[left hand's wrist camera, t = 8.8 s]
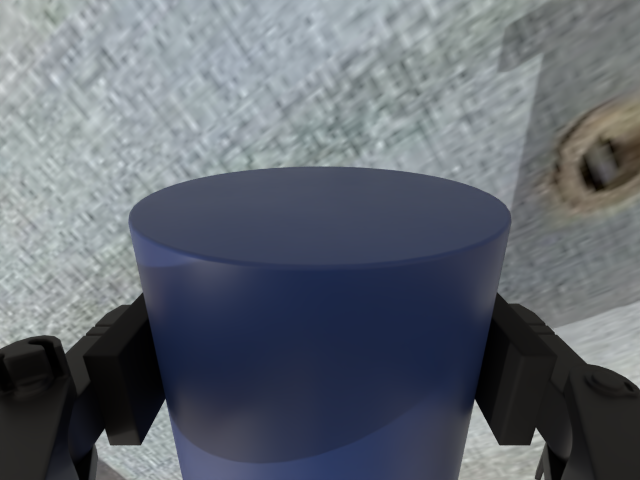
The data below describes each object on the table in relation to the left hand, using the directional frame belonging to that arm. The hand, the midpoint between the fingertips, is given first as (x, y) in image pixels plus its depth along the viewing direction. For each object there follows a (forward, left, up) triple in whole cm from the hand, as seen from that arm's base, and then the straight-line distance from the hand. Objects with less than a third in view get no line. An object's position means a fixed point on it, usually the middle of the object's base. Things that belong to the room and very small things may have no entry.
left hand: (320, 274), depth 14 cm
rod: (+9, +2, -1) cm, 9 cm away
